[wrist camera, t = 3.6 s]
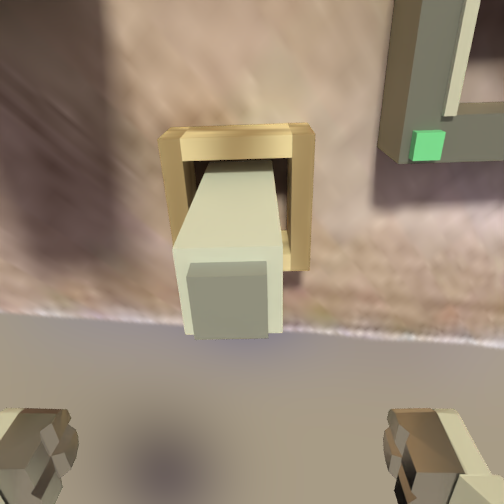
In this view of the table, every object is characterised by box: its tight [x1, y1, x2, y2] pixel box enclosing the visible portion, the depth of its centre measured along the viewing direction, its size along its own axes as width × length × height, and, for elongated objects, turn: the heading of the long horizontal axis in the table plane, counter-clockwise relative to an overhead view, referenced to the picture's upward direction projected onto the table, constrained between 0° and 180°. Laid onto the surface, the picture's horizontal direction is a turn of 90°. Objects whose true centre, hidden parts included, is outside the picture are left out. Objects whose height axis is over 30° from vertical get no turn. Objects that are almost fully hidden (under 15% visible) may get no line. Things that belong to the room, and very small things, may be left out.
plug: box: [172, 160, 283, 340], centre depth 19 cm, size 4×4×13 cm
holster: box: [157, 123, 315, 271], centre depth 24 cm, size 8×8×4 cm
